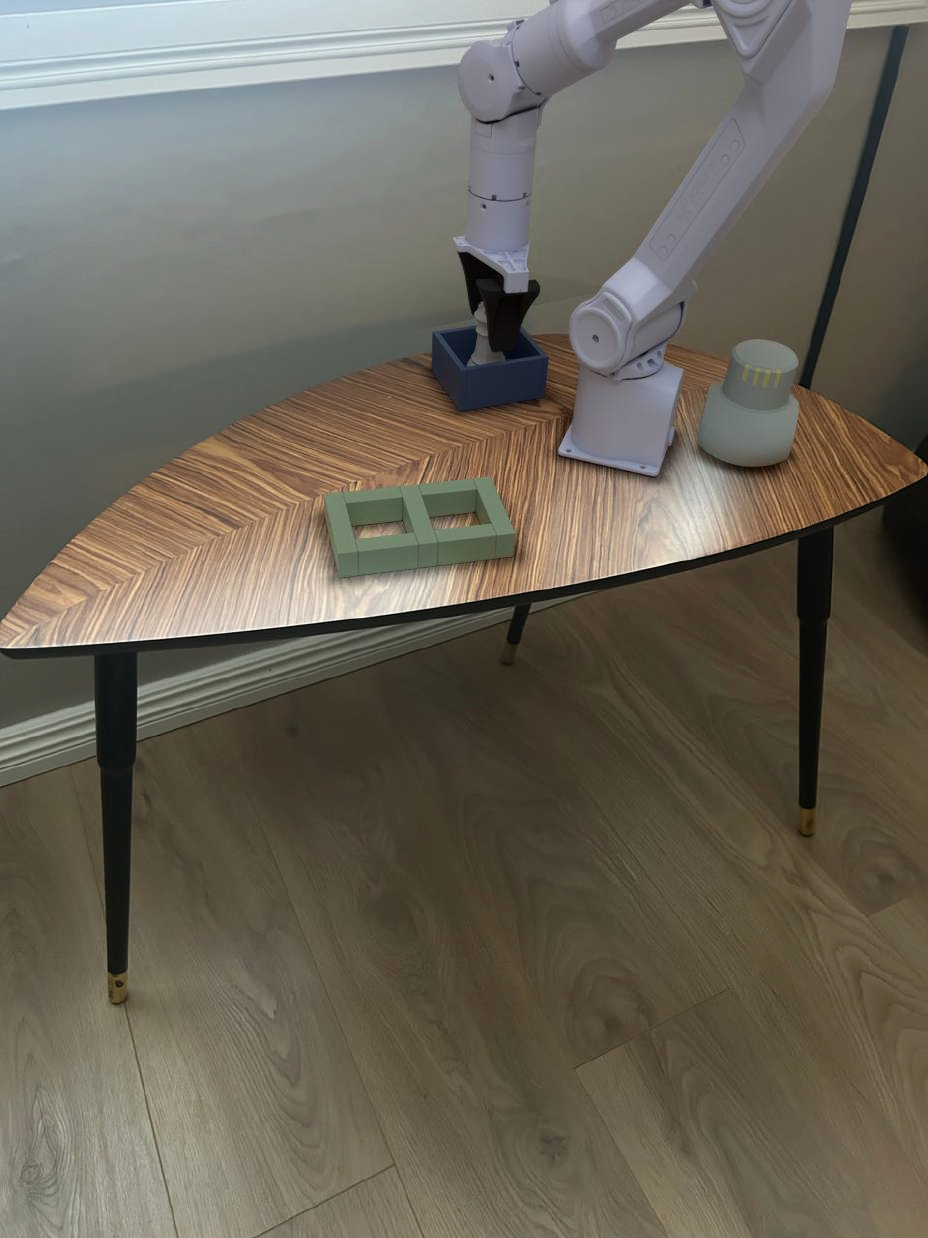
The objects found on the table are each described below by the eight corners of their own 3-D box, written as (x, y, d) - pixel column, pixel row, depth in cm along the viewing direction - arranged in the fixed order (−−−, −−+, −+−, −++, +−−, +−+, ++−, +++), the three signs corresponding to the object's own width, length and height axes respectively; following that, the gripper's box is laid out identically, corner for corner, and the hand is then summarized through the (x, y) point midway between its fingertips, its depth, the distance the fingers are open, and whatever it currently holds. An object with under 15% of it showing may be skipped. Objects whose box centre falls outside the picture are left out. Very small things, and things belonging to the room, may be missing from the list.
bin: (512, 358, 107) (516, 319, 104) (544, 397, 101) (549, 356, 98) (431, 371, 104) (432, 331, 101) (459, 411, 98) (461, 370, 95)
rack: (488, 499, 88) (490, 475, 86) (513, 556, 83) (515, 532, 81) (325, 517, 85) (323, 493, 84) (338, 578, 80) (337, 553, 78)
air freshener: (780, 489, 91) (811, 392, 84) (689, 471, 93) (712, 374, 86) (786, 427, 99) (815, 333, 92) (702, 412, 100) (724, 318, 93)
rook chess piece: (504, 393, 100) (510, 319, 95) (460, 387, 101) (464, 313, 95) (511, 372, 104) (518, 298, 98) (469, 366, 104) (473, 292, 99)
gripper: (438, 162, 94) (435, 301, 103) (476, 223, 83) (469, 371, 93) (511, 159, 95) (501, 296, 104) (557, 219, 85) (542, 364, 94)
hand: (491, 331), depth 99 cm, fingers open, 7 cm apart
